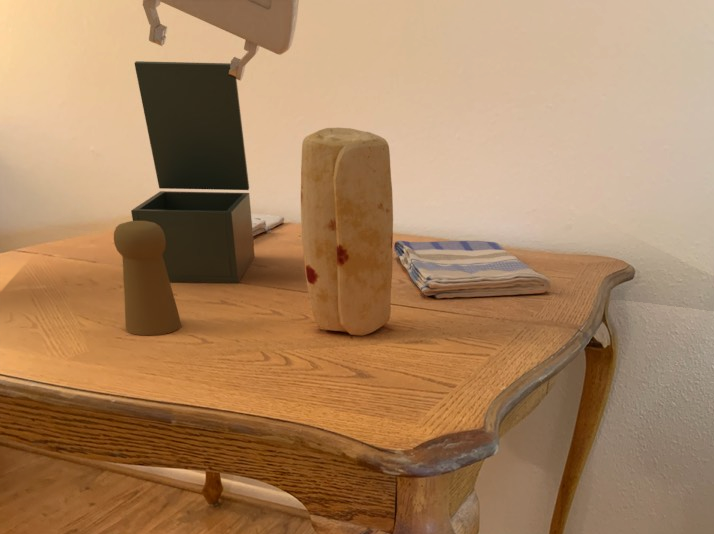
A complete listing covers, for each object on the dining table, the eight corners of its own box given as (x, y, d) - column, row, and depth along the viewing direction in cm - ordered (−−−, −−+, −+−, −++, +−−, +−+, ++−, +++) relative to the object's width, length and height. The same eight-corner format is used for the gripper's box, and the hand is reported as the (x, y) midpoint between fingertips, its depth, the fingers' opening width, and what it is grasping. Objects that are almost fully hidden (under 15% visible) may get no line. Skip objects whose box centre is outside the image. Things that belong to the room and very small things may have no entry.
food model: (384, 317, 90) (384, 125, 79) (400, 335, 85) (403, 131, 74) (302, 323, 88) (291, 126, 77) (313, 342, 82) (303, 132, 71)
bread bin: (238, 283, 102) (231, 212, 97) (142, 281, 101) (130, 210, 96) (254, 256, 114) (249, 192, 109) (169, 255, 113) (160, 191, 109)
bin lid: (233, 65, 97) (239, 54, 101) (134, 62, 97) (143, 52, 101) (248, 190, 108) (253, 177, 112) (159, 188, 108) (166, 175, 112)
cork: (129, 337, 82) (110, 229, 76) (122, 321, 87) (103, 218, 81) (186, 331, 84) (171, 225, 78) (176, 316, 89) (161, 215, 83)
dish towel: (422, 300, 96) (423, 278, 95) (390, 256, 116) (390, 236, 114) (553, 296, 99) (556, 274, 98) (500, 253, 118) (502, 234, 117)
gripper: (111, -123, 77) (98, 27, 86) (305, -30, 82) (273, 103, 91) (130, -129, 81) (116, 14, 91) (314, -40, 86) (282, 88, 95)
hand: (196, 60), depth 91 cm, fingers open, 8 cm apart
